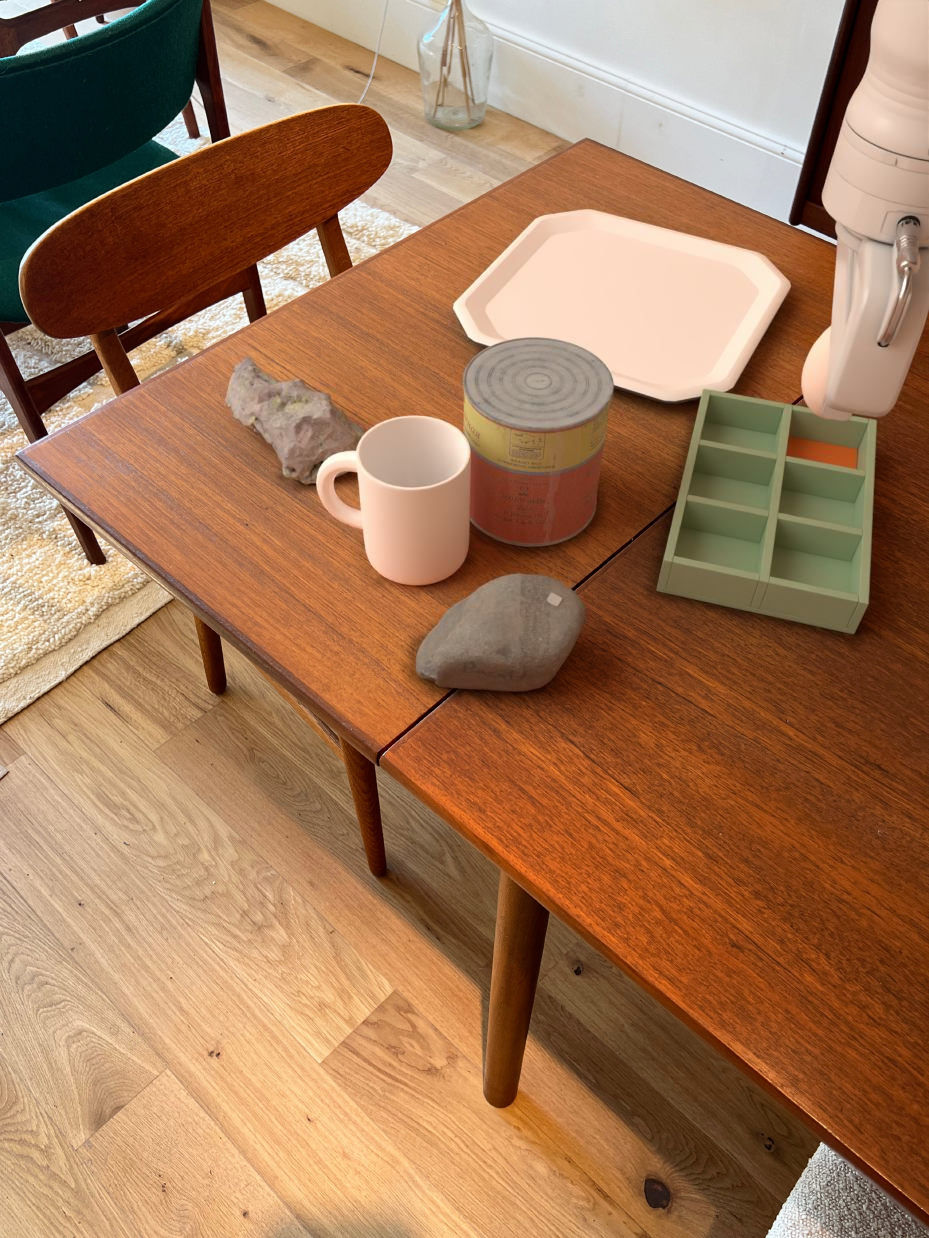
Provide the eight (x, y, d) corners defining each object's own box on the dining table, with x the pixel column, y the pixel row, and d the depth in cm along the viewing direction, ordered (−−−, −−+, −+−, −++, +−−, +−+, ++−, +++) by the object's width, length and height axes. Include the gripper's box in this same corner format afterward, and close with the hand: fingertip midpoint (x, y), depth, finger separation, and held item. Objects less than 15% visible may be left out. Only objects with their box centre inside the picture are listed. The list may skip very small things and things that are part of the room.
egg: (814, 442, 65) (849, 346, 60) (777, 401, 68) (806, 305, 63) (874, 428, 67) (914, 332, 61) (835, 387, 69) (869, 292, 64)
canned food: (526, 438, 89) (534, 320, 80) (623, 500, 83) (644, 382, 74) (434, 497, 84) (431, 379, 74) (531, 568, 78) (542, 449, 69)
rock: (199, 428, 89) (184, 365, 84) (260, 391, 93) (248, 329, 88) (321, 507, 83) (312, 444, 78) (381, 464, 86) (376, 401, 81)
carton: (864, 451, 88) (877, 419, 85) (854, 634, 74) (869, 603, 72) (695, 419, 91) (703, 388, 88) (655, 591, 77) (663, 559, 74)
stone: (437, 597, 76) (500, 526, 68) (534, 653, 78) (606, 590, 70) (400, 688, 70) (464, 623, 63) (506, 747, 72) (580, 689, 65)
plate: (799, 281, 106) (804, 262, 104) (711, 434, 89) (716, 414, 88) (552, 216, 115) (553, 197, 113) (430, 344, 98) (429, 325, 96)
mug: (306, 568, 78) (289, 467, 70) (341, 499, 83) (330, 398, 75) (453, 599, 76) (453, 499, 68) (480, 526, 81) (483, 425, 73)
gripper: (980, 286, 48) (885, 498, 59) (962, 112, 61) (887, 311, 71) (846, 266, 49) (776, 477, 60) (856, 99, 62) (797, 297, 73)
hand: (836, 385), depth 66 cm, fingers closed on egg, 4 cm apart
